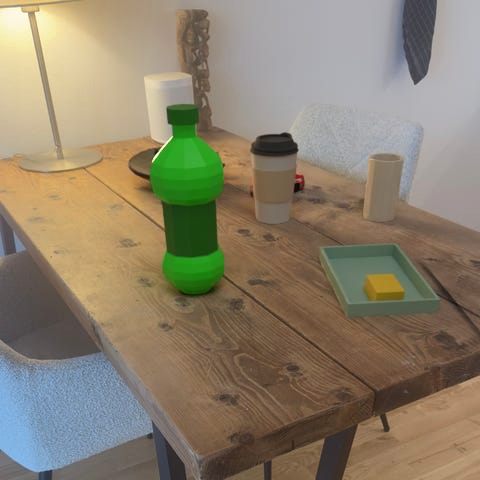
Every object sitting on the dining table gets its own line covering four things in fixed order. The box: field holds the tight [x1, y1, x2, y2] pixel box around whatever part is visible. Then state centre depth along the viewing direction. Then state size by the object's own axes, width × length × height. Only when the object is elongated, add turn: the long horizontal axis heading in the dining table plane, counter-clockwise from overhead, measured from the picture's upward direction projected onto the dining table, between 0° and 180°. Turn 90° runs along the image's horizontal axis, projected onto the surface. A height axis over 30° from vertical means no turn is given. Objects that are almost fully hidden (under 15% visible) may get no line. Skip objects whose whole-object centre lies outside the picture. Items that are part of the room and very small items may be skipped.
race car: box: [249, 172, 306, 195], centre depth 125 cm, size 13×5×4 cm, turn 119°
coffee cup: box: [249, 131, 299, 225], centre depth 108 cm, size 9×9×15 cm
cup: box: [362, 152, 405, 223], centre depth 109 cm, size 6×6×11 cm
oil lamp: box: [127, 145, 226, 182], centre depth 130 cm, size 22×30×8 cm
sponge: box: [364, 274, 405, 301], centre depth 82 cm, size 6×4×2 cm, turn 4°
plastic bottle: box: [149, 103, 226, 295], centre depth 81 cm, size 10×10×25 cm
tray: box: [318, 242, 441, 318], centre depth 87 cm, size 21×13×3 cm, turn 4°
